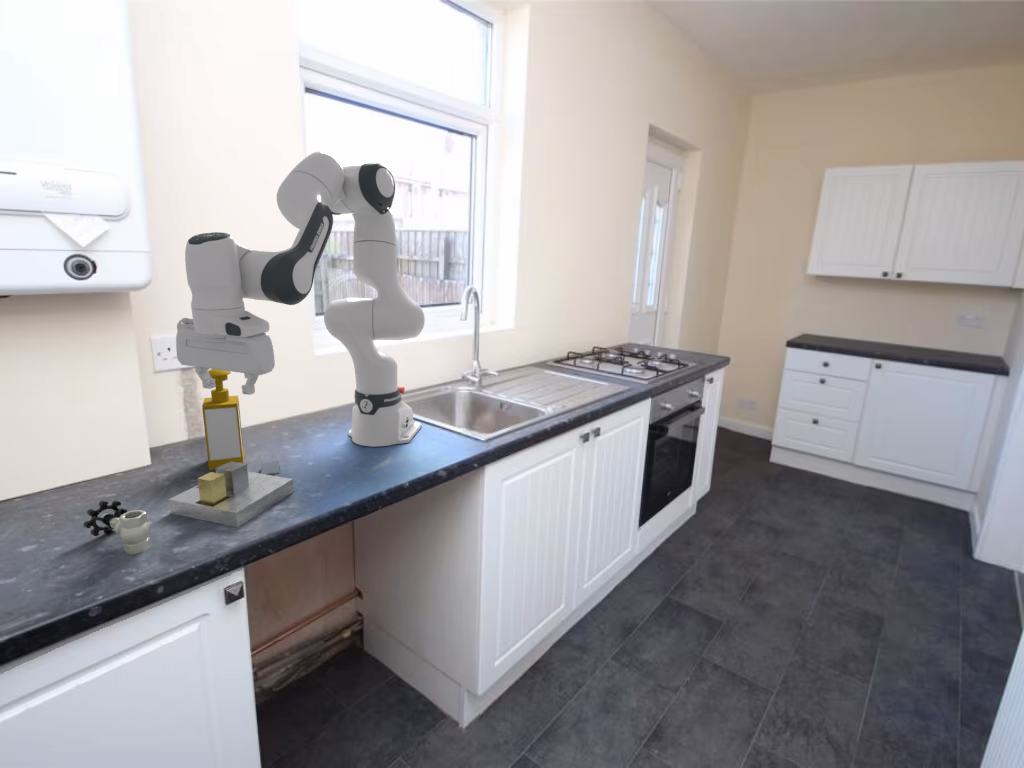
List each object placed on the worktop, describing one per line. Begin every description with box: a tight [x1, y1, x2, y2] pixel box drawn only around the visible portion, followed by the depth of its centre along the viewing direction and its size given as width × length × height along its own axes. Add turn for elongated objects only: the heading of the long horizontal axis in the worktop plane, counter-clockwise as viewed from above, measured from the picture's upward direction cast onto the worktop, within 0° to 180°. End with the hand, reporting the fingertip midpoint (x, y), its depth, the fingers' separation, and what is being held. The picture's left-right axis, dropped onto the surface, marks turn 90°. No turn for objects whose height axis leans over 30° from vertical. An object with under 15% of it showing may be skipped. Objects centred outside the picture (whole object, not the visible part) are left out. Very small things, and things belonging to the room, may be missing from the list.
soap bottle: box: [201, 369, 245, 471], centre depth 128 cm, size 7×13×24 cm, turn 25°
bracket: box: [260, 460, 281, 477], centre depth 122 cm, size 4×10×2 cm, turn 23°
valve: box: [83, 499, 152, 555], centre depth 93 cm, size 7×7×12 cm
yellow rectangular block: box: [197, 471, 227, 507], centre depth 103 cm, size 3×3×8 cm
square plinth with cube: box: [168, 461, 294, 528], centre depth 108 cm, size 16×16×8 cm
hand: (228, 390), depth 104 cm, fingers open, 8 cm apart
